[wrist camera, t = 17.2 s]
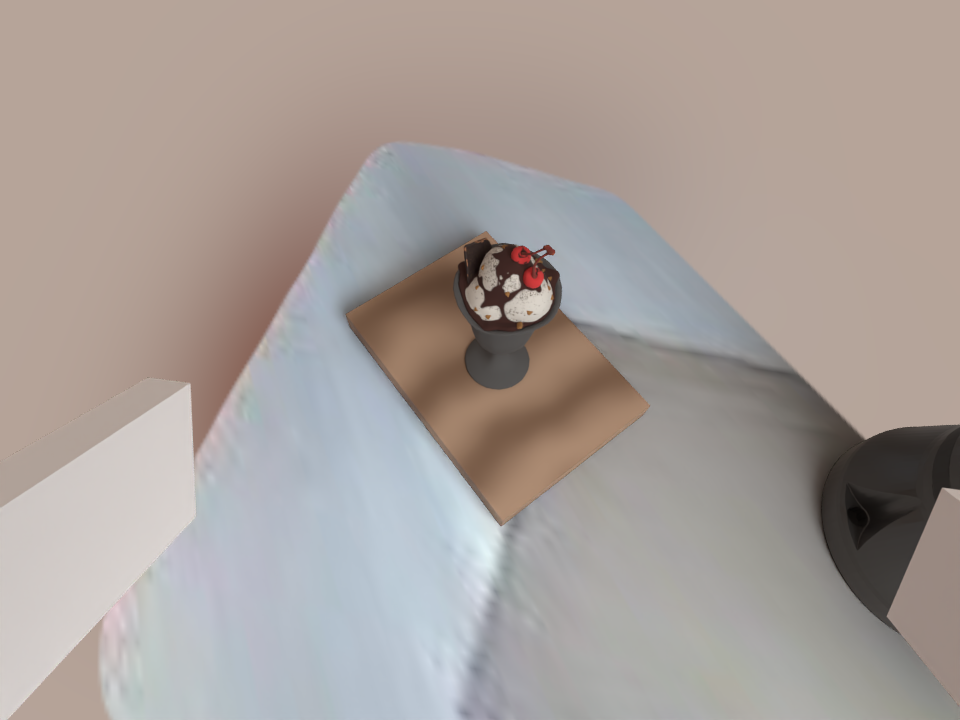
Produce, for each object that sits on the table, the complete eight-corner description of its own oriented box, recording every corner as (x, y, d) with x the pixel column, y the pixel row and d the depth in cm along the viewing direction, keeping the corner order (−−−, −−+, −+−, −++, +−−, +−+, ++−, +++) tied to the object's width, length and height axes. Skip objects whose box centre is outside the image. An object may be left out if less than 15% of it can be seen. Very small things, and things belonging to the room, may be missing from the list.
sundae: (552, 389, 44) (594, 276, 30) (464, 408, 43) (468, 300, 29) (528, 315, 47) (557, 181, 33) (445, 331, 46) (441, 200, 32)
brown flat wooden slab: (642, 415, 45) (650, 405, 44) (501, 526, 41) (502, 521, 39) (485, 245, 52) (486, 231, 50) (349, 326, 48) (345, 314, 46)
